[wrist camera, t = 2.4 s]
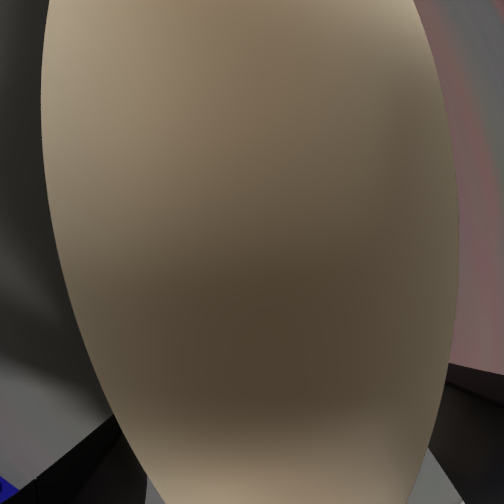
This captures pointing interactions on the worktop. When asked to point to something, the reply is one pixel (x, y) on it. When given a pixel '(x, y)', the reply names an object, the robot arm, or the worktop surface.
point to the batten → (256, 238)
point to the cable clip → (6, 490)
